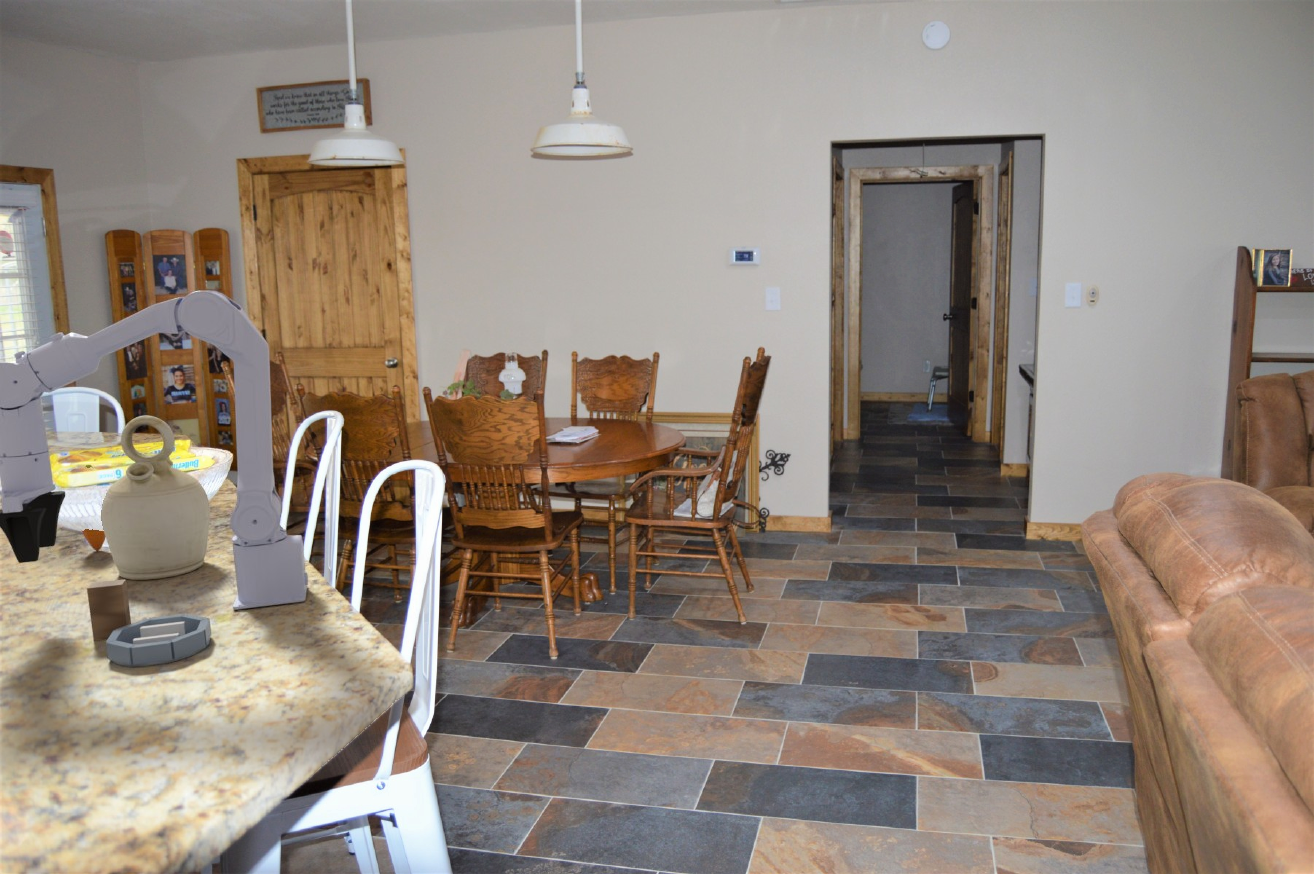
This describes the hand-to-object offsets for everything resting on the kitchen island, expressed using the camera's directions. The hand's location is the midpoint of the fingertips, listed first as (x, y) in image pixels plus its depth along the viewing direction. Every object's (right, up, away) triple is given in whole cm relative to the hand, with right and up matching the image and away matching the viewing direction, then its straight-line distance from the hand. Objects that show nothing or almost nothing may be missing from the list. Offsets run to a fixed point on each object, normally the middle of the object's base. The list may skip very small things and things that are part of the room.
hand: (37, 553), depth 129 cm
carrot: (-14, -4, +39) cm, 42 cm away
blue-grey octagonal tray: (+21, -11, -8) cm, 25 cm away
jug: (+3, -6, +27) cm, 28 cm away
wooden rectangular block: (+12, -10, -3) cm, 16 cm away
